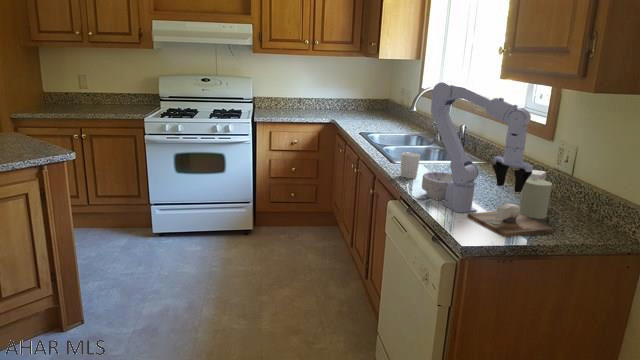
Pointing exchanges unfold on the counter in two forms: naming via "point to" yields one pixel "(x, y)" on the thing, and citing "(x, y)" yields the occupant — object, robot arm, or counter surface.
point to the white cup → (409, 164)
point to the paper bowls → (436, 184)
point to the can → (535, 198)
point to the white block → (507, 211)
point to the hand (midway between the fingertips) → (509, 188)
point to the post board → (510, 224)
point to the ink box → (538, 175)
